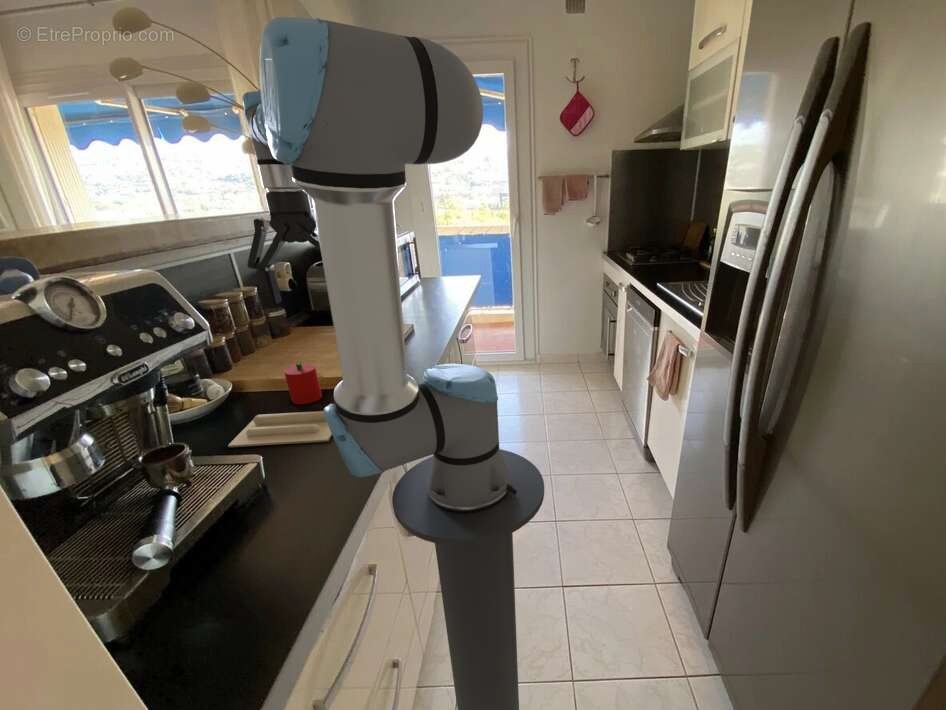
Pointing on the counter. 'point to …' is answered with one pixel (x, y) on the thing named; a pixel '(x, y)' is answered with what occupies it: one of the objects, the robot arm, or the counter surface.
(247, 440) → the cream ridged board
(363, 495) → the counter surface
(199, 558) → the counter surface
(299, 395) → the pepper
